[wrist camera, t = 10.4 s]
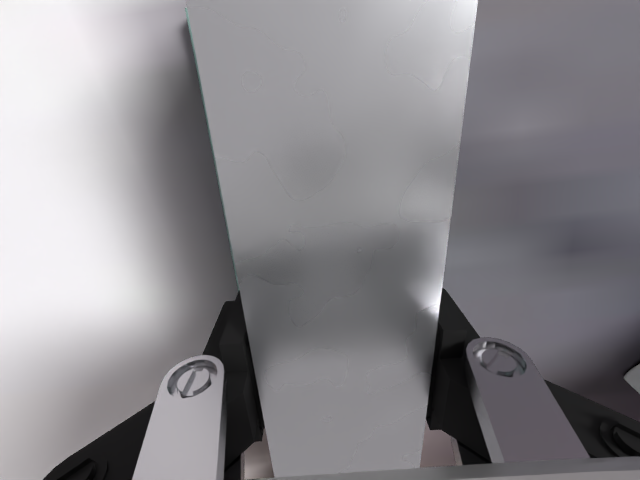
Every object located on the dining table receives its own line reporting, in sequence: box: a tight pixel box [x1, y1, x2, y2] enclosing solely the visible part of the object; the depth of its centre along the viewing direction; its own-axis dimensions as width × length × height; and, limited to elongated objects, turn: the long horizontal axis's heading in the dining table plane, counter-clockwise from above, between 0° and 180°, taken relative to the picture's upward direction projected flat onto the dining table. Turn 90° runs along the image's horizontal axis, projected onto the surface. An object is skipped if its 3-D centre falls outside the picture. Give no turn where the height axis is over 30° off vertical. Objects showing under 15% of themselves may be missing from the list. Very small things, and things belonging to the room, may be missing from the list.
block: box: [186, 0, 478, 478], centre depth 9 cm, size 20×4×4 cm, turn 3°
